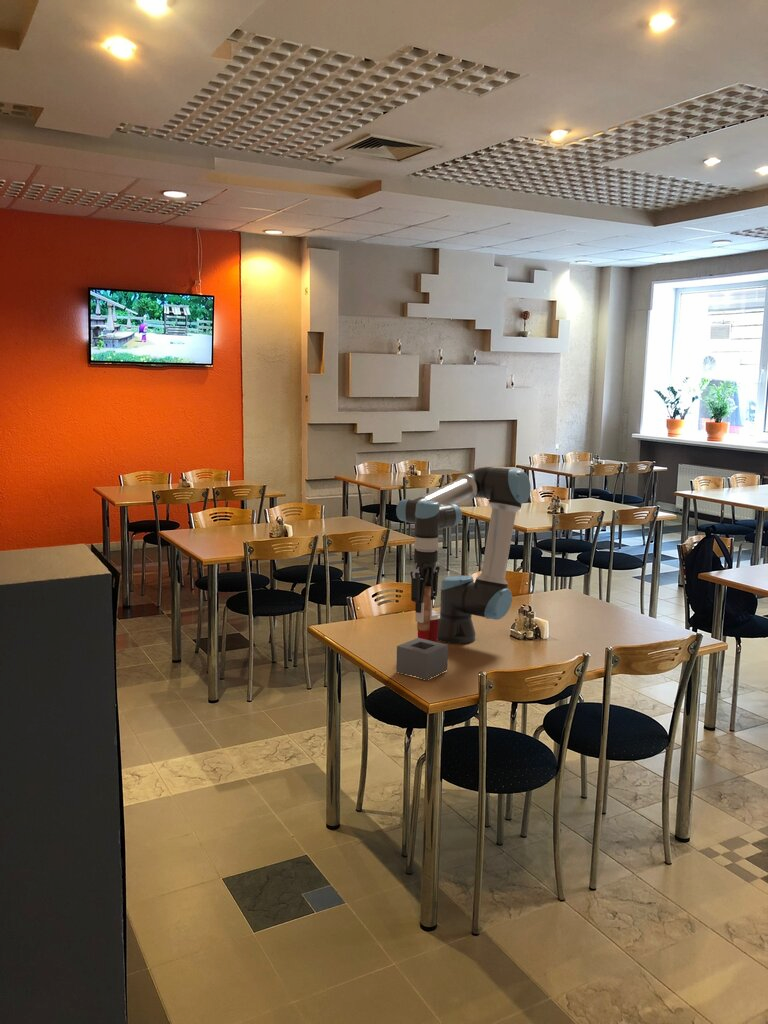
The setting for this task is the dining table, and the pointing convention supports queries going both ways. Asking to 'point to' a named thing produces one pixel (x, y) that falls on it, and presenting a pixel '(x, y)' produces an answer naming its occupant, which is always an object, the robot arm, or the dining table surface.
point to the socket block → (422, 658)
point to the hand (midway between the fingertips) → (423, 620)
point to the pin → (426, 610)
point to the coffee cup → (431, 628)
